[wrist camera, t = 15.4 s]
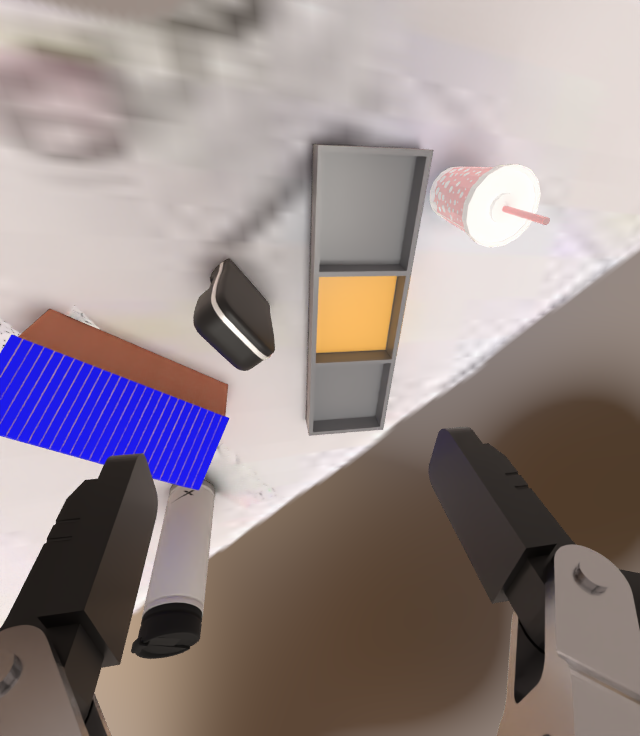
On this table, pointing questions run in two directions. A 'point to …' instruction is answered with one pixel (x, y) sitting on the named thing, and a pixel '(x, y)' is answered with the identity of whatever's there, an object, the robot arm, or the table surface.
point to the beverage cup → (488, 201)
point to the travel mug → (178, 575)
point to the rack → (359, 278)
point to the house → (109, 400)
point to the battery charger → (235, 318)
